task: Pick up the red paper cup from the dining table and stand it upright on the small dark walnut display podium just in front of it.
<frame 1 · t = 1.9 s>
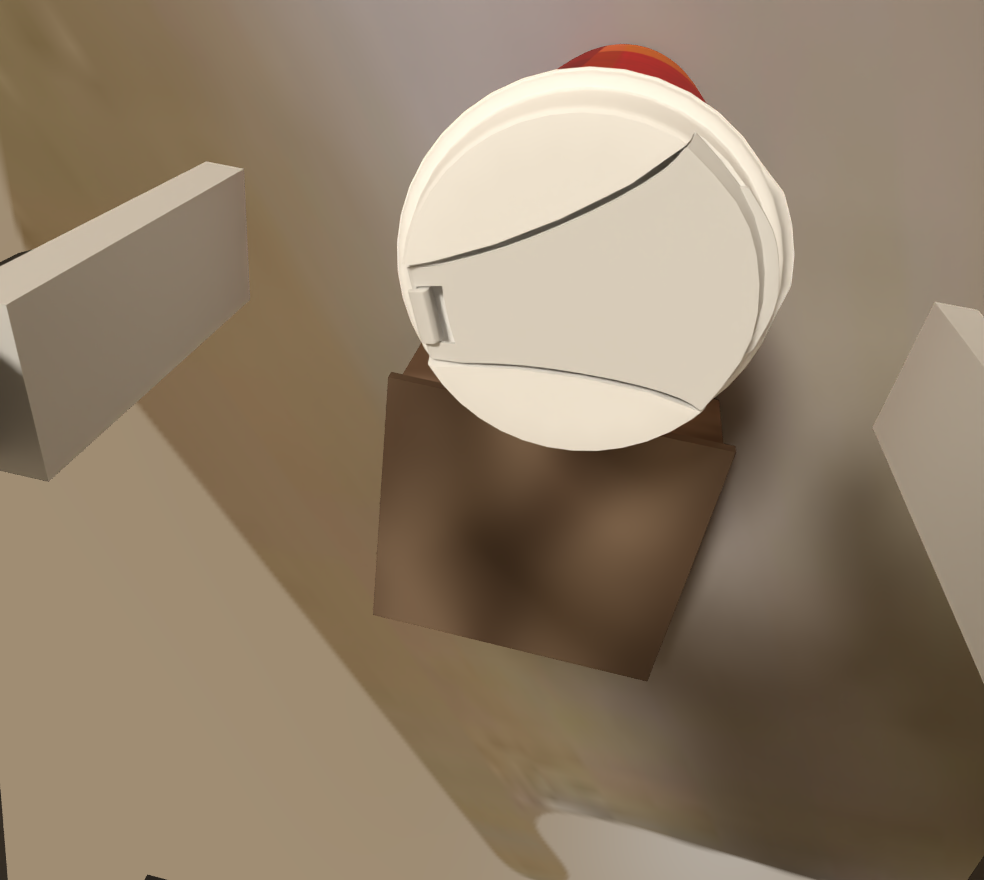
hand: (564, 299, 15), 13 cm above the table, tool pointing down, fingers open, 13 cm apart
paper cup: (620, 134, 26), on the table
podium: (543, 485, 34), on the table
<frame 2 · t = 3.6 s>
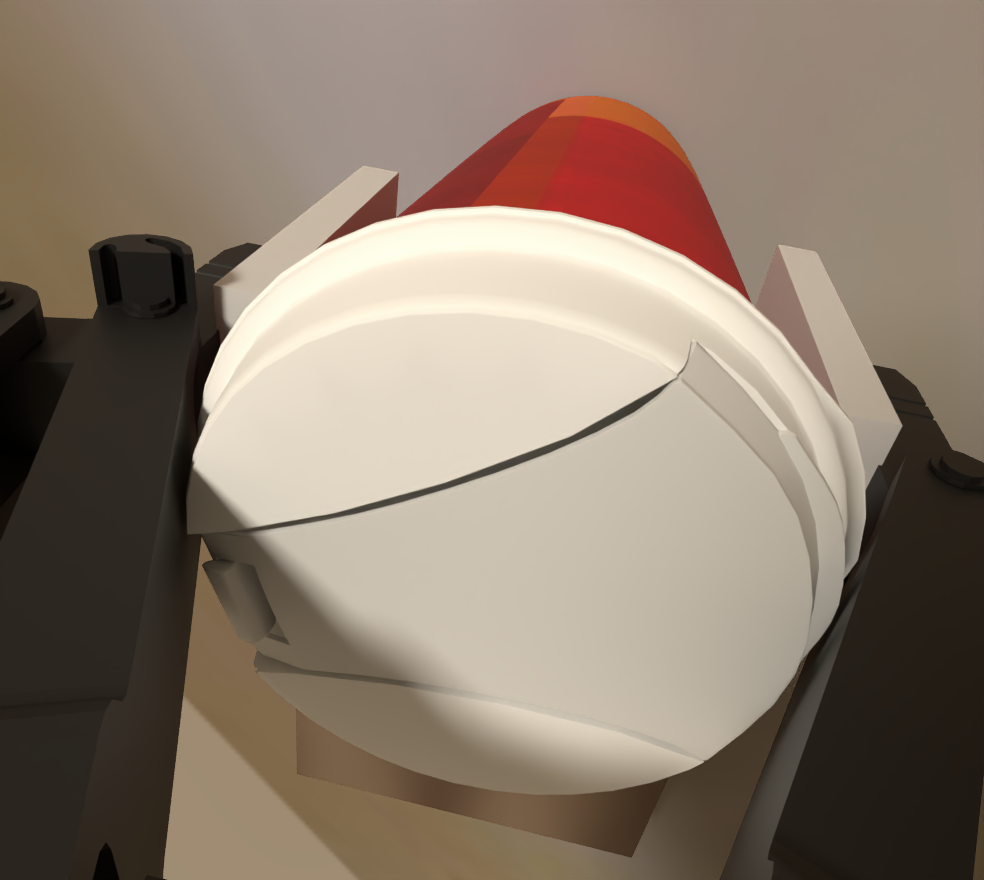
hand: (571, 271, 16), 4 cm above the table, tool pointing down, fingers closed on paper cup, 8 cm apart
paper cup: (587, 209, 20), on the table, touching gripper
podium: (503, 617, 28), on the table
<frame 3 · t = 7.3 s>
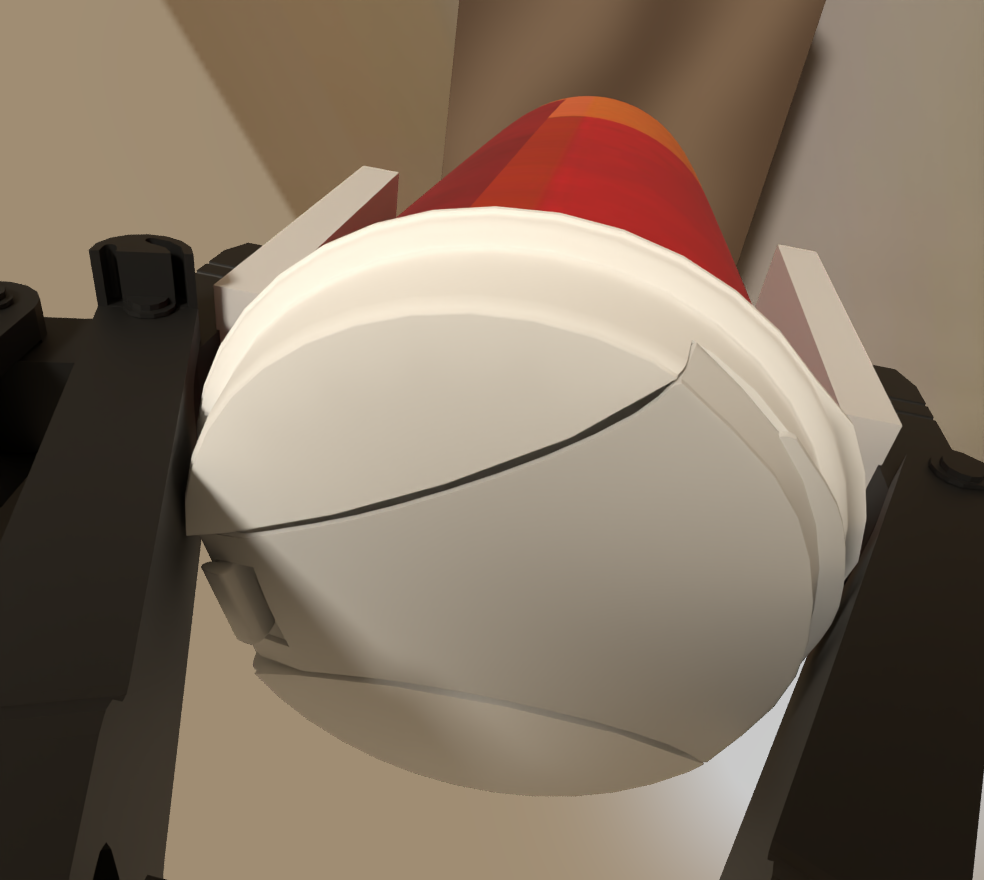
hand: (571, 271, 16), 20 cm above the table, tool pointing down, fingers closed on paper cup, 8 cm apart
paper cup: (587, 209, 20), point 16 cm above the table, touching gripper
podium: (615, 99, 33), on the table
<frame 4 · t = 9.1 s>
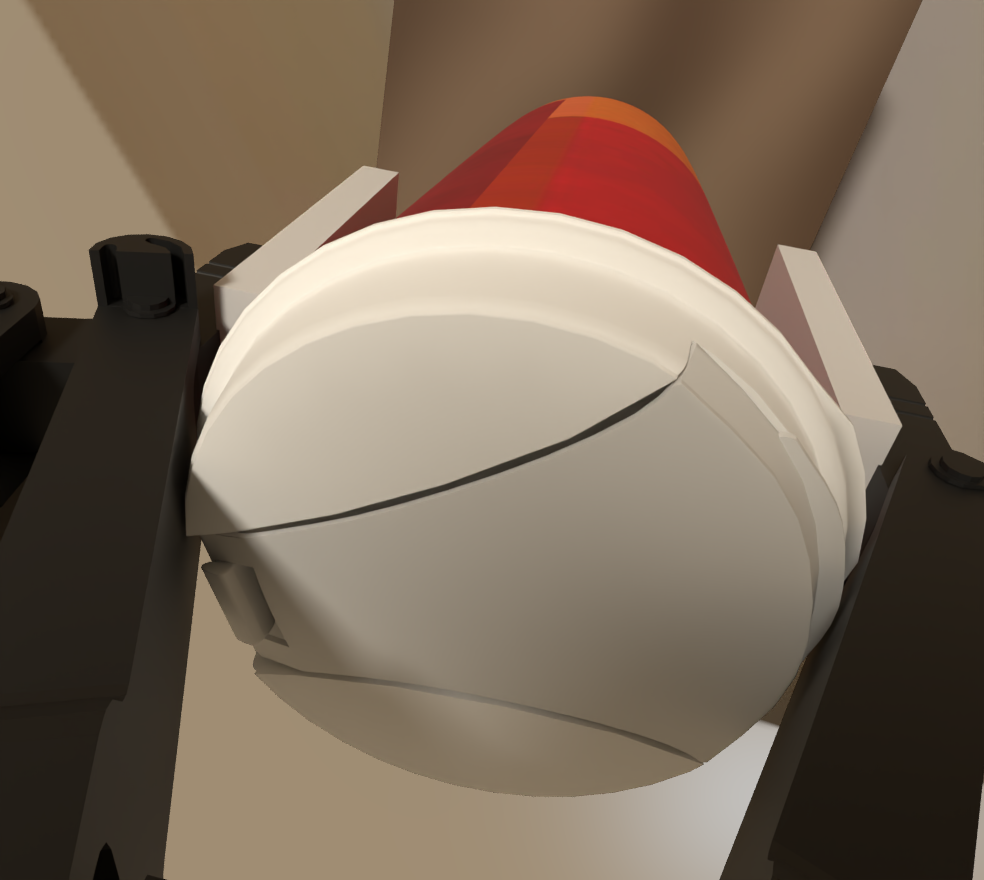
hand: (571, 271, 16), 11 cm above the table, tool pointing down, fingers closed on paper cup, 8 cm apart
paper cup: (587, 209, 20), point 6 cm above the table, touching gripper
podium: (603, 150, 25), on the table
when the fingers open (9 cm above the table, at t = 10.8 s): paper cup stays where it is, resting on podium.
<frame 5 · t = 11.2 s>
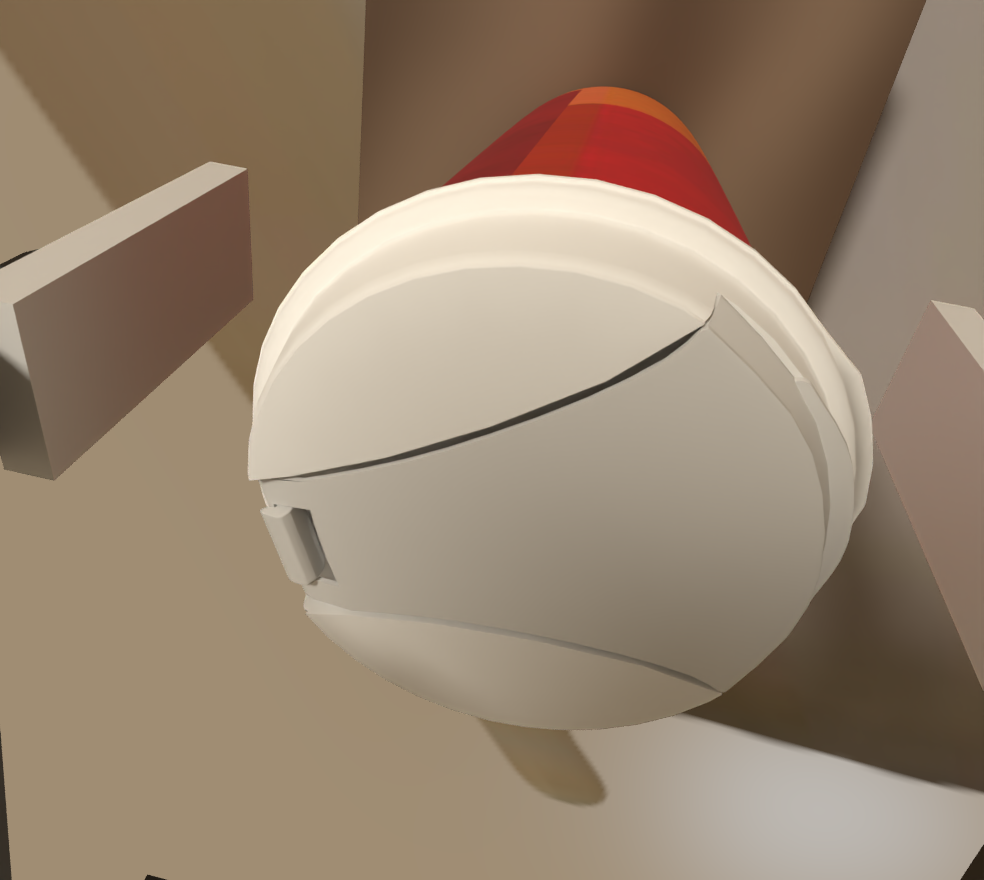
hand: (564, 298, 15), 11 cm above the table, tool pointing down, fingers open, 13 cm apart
paper cup: (601, 196, 21), point 4 cm above the table, touching podium
podium: (599, 163, 24), on the table
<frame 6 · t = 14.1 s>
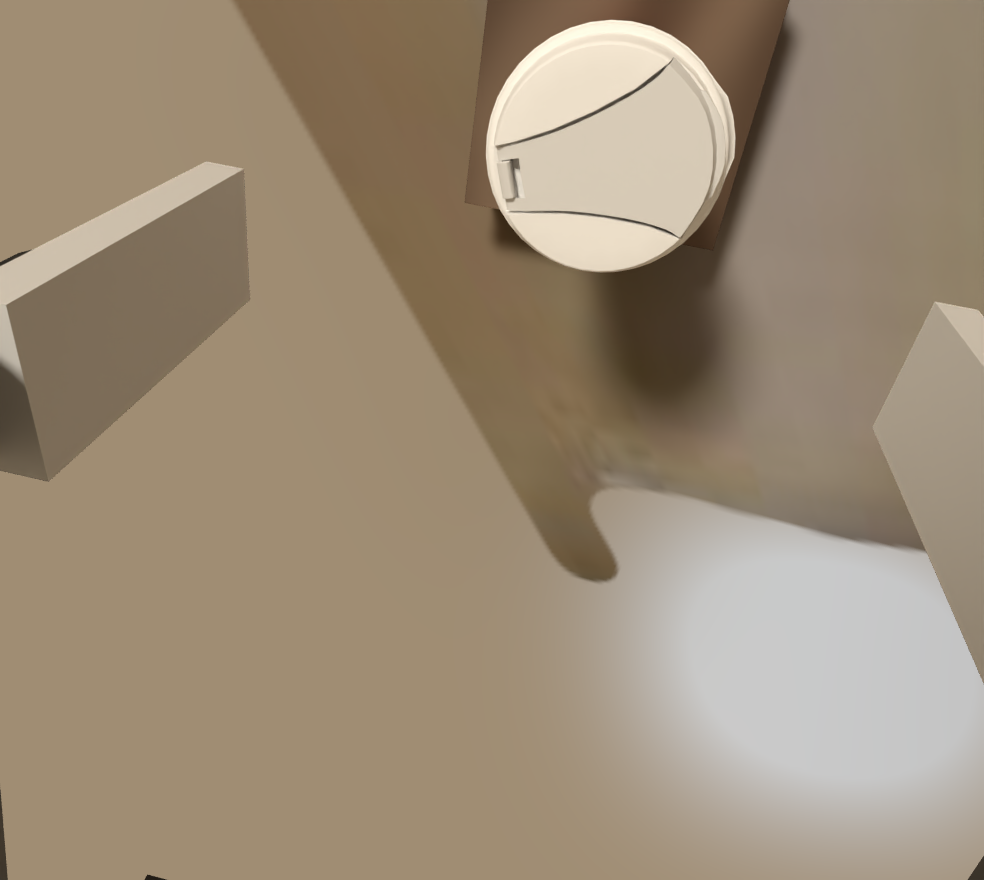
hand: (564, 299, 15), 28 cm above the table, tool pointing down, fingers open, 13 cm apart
paper cup: (622, 89, 35), point 4 cm above the table, touching podium
podium: (618, 77, 39), on the table
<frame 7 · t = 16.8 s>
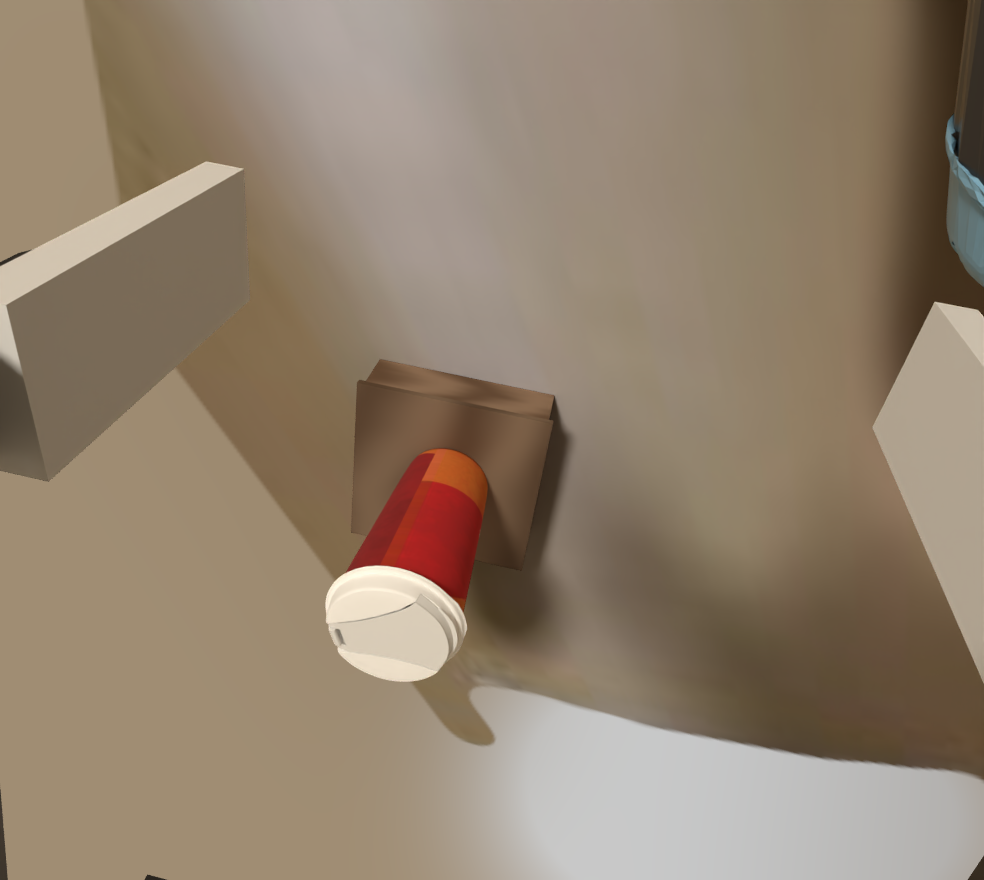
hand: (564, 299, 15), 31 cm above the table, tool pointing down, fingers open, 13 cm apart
paper cup: (449, 480, 52), point 4 cm above the table, touching podium
podium: (456, 449, 55), on the table
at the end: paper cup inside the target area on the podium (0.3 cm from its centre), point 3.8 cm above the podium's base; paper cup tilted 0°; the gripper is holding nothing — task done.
